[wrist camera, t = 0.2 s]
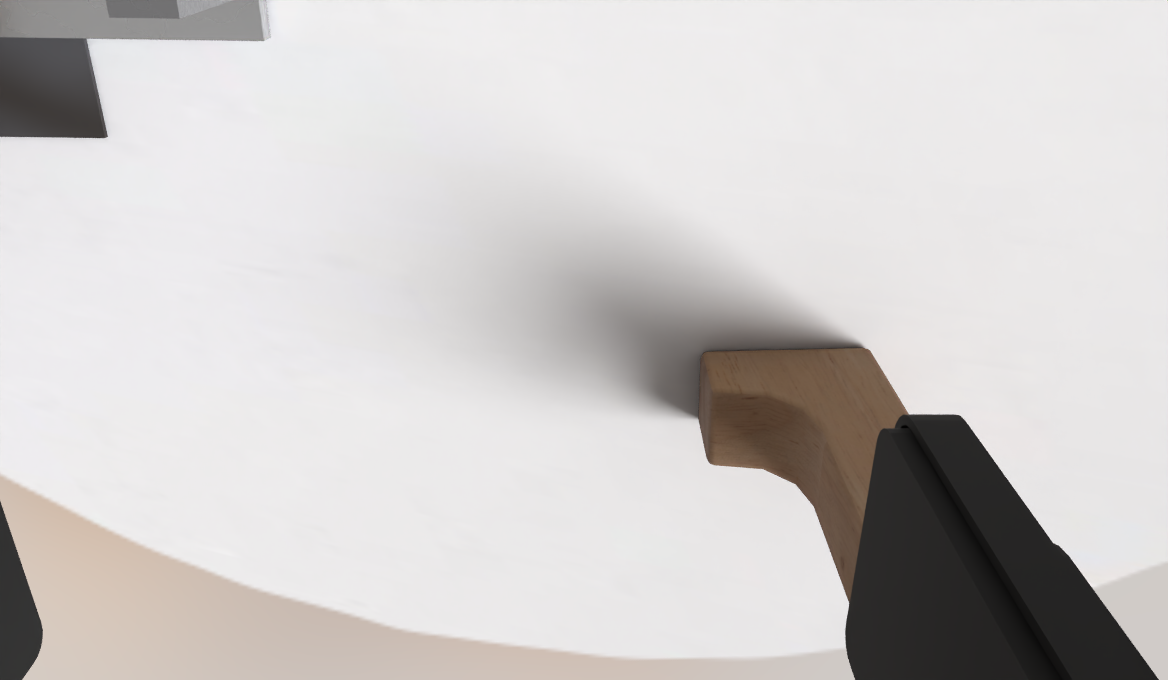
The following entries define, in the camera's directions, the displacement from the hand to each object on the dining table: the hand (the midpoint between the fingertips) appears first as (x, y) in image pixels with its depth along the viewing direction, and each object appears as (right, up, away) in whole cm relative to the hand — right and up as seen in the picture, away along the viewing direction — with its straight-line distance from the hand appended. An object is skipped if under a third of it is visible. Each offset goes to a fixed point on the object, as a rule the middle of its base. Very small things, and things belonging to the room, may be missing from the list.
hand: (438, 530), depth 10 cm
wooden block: (+12, 0, +40) cm, 42 cm away
